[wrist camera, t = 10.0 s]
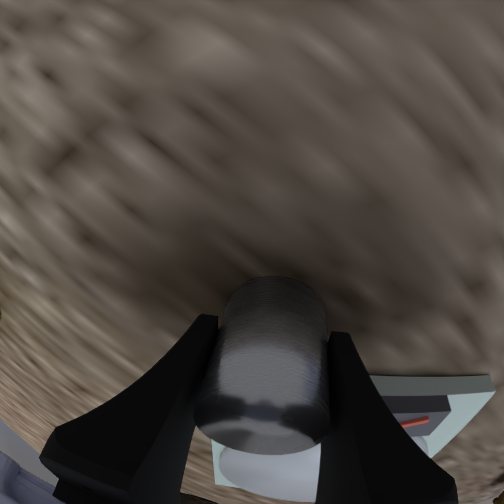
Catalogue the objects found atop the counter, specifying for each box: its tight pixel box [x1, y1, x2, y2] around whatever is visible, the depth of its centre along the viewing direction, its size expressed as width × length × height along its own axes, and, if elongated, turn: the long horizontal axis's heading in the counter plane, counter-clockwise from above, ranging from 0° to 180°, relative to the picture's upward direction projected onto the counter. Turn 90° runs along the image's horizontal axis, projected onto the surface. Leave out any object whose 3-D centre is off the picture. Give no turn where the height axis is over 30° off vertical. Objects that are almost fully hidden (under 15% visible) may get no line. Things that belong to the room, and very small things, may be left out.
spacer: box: [193, 276, 330, 455], centre depth 11 cm, size 4×4×5 cm
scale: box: [212, 375, 496, 502], centre depth 17 cm, size 16×15×2 cm
